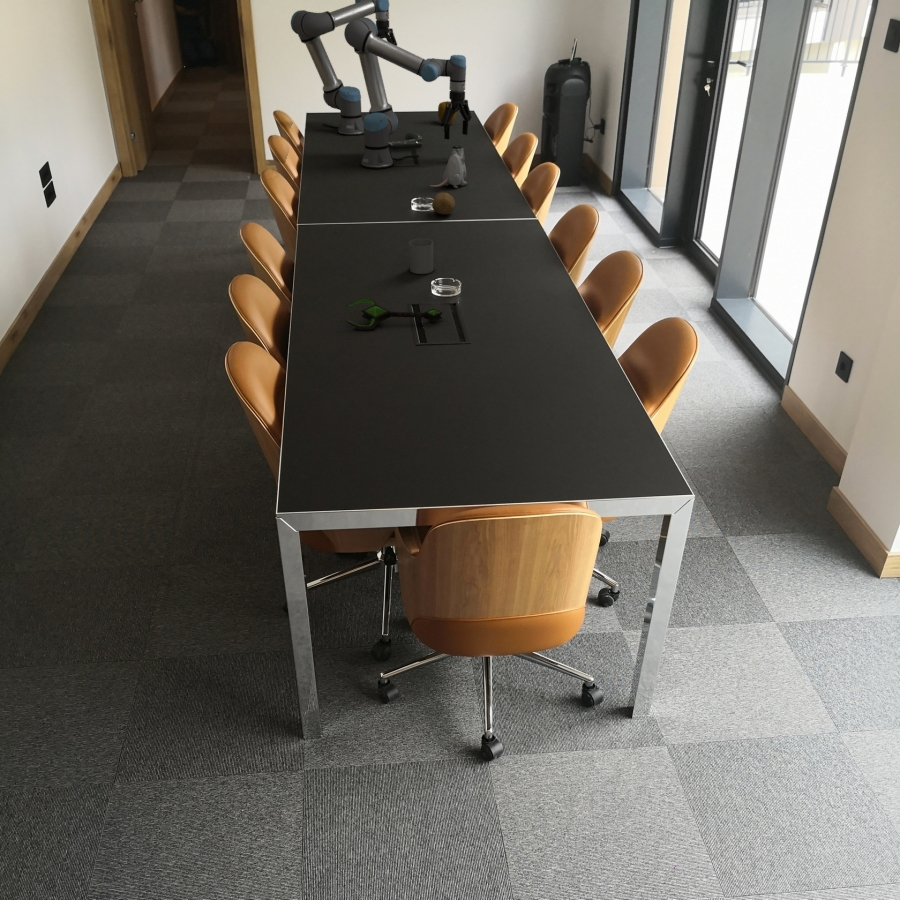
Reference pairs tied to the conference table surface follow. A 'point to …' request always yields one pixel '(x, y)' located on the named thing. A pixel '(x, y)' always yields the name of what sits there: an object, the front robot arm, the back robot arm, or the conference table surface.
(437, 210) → the potato
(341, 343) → the conference table surface
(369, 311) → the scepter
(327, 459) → the conference table surface
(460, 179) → the toy
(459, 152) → the camera lens
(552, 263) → the conference table surface
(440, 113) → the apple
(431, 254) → the cup
